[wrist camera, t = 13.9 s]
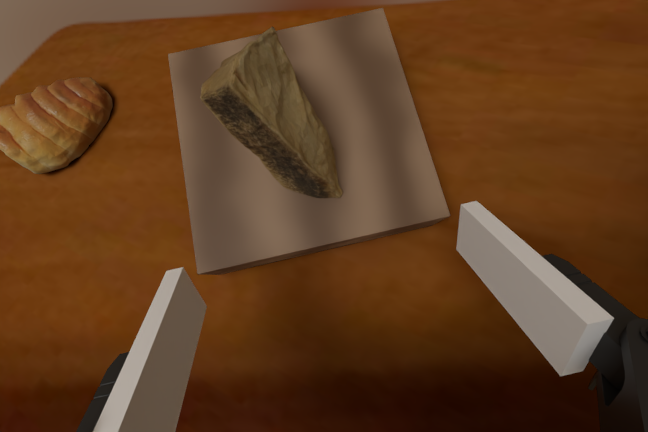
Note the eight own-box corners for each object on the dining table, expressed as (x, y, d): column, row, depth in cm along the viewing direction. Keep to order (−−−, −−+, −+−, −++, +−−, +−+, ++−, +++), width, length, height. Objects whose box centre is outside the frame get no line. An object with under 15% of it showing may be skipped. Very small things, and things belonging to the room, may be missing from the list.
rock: (223, 33, 21) (168, 148, 18) (279, -76, 14) (206, 78, 11) (335, 115, 27) (309, 215, 24) (413, 64, 20) (391, 194, 17)
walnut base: (375, 45, 28) (382, 8, 24) (431, 225, 24) (450, 215, 20) (191, 85, 28) (167, 54, 24) (219, 274, 24) (197, 274, 20)
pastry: (89, 74, 29) (53, 44, 25) (134, 116, 28) (103, 91, 24) (11, 140, 27) (-40, 119, 24) (54, 187, 26) (8, 172, 23)
